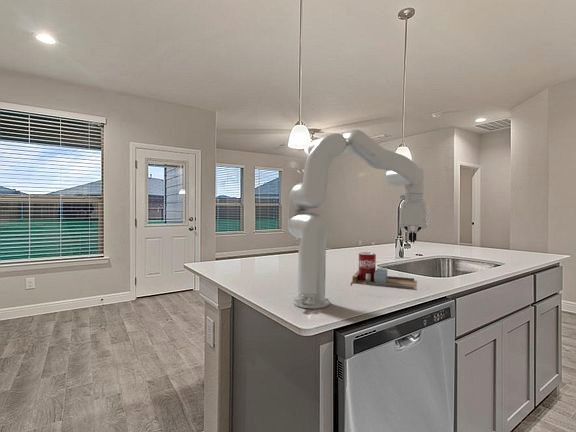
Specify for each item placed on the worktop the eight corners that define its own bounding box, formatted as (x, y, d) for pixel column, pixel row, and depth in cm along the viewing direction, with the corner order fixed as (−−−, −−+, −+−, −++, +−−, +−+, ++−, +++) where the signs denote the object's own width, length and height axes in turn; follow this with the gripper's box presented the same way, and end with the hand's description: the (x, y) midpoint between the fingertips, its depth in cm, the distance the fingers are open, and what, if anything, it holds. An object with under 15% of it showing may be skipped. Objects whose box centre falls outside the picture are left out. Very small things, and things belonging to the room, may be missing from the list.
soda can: (376, 282, 136) (376, 254, 135) (358, 281, 137) (359, 254, 137) (374, 278, 143) (375, 252, 142) (358, 278, 144) (358, 251, 144)
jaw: (384, 285, 132) (385, 273, 132) (373, 283, 134) (373, 272, 134) (387, 279, 142) (387, 268, 142) (376, 278, 144) (377, 267, 144)
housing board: (416, 292, 125) (416, 279, 125) (350, 286, 135) (350, 273, 135) (416, 283, 140) (416, 271, 140) (357, 277, 150) (357, 266, 150)
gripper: (393, 198, 131) (392, 242, 132) (433, 198, 126) (432, 244, 126) (395, 198, 138) (394, 240, 139) (432, 198, 132) (431, 242, 133)
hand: (412, 242), depth 133 cm, fingers closed
